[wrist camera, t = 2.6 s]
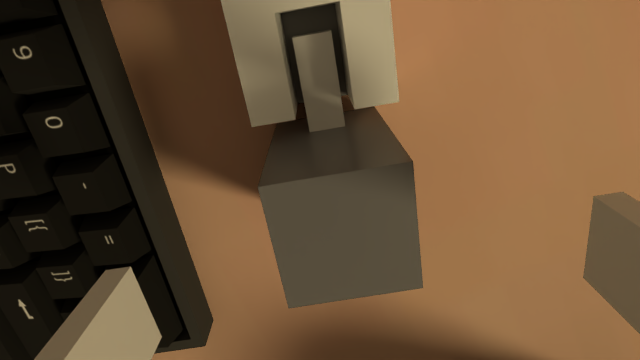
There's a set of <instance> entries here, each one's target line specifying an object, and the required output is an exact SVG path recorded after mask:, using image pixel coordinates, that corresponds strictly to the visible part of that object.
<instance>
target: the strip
mask: <svg viewBox="0 0 640 360" xmlns="http://www.w3.org/2000/svg"><path fill="white" fill-rule="evenodd" d="M221 4H222V8H223V12H224V16H225V20H226V24H227V28H228V33H229V37H230V41H231V45H232V49H233V53H234V57H235V61H236V65H237V69H238V73H239V77H240V81H241V86H242V90H243V94H244V98H245V102H246V106H247V110H248V114H249V118H250V122H251V126H252V127H256V126H262V125H268V124H273V123H279V122H285V121H291V120H296V112H297V105H298V103H304V99H303V93H302V88H301V83H300V77H299V72H298V66H297V61H296V56H295V50H294V45H293V40H292V38H293V36H297V35H303V34H308V33H314V32H319V31H325V30H331V33H332V39H333V46H334V53H335V60H336V66H337V73H338V80H339V87H340V93H341V96H344V95H348V97H349V99H350V101H351V103H352V105H353V107H354V109H360V108H366V107H372V106H378V105H383V104H389V103H395V102H399V93H398V82H397V71H396V60H395V48H394V37H393V26H392V15H391V4H390V0H221Z"/></svg>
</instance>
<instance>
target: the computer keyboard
mask: <svg viewBox="0 0 640 360" xmlns="http://www.w3.org/2000/svg"><path fill="white" fill-rule="evenodd" d="M124 267H131V268H132V271H133V273H134V275H135V277H136V280H137V282H138V284H139V286H140V289H141V291H142V293H143V295H144V298H145V300H146V302H147V305H148V307H149V309H150V311H151V314H152V316H153V318H154V320H155V323H156V325H157V327H158V329H159V332H160V334H161V336H162V338H161V340H160V342H159V344H158V346H157V348H156V350H155V353H161V352H168V351H175V350H182V349H189V348H196V347H203V346H205V345H206V342H207V339H208V336H209V333H210V329H211V326H212V323H213V317H212V314H211V312H210V309H209V306H208V303H207V300H206V297H205V295H204V292H203V289H202V286H201V283H200V280H199V278H198V275H197V272H196V269H195V266H194V264H193V261H192V258H191V255H190V252H189V249H188V247H187V244H186V241H185V238H184V235H183V232H182V230H181V227H180V224H179V221H178V218H177V215H176V213H175V210H174V207H173V204H172V201H171V198H170V196H169V193H168V190H167V187H166V184H165V181H164V179H163V176H162V173H161V170H160V167H159V164H158V162H157V159H156V156H155V153H154V150H153V147H152V145H151V142H150V139H149V136H148V133H147V131H146V128H145V125H144V122H143V119H142V116H141V114H140V111H139V108H138V105H137V102H136V99H135V97H134V94H133V91H132V88H131V85H130V82H129V80H128V77H127V74H126V71H125V68H124V65H123V63H122V60H121V57H120V54H119V51H118V48H117V46H116V43H115V40H114V37H113V34H112V31H111V29H110V26H109V23H108V20H107V17H106V14H105V12H104V9H103V6H102V3H101V0H0V360H34V359H35V358H36V356H37V355H38V354H39V353H40V351H41V350H42V349H43V348H44V346H45V345H46V344H47V343H48V341H49V340H50V339H51V338H52V336H53V335H54V334H55V333H56V331H57V330H58V329H59V328H60V326H61V325H62V324H63V323H64V321H65V320H66V319H67V318H68V316H69V315H70V314H71V313H72V311H73V310H74V309H75V308H76V306H77V305H78V304H79V303H80V302H81V300H82V299H83V298H84V297H85V295H86V294H87V293H88V292H89V290H90V289H91V288H92V287H93V285H94V284H95V283H96V282H97V280H98V279H99V278H100V277H101V275H102V274H103V273H104V272H105V270H111V269H117V268H124ZM155 353H154V354H155Z"/></svg>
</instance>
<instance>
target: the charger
mask: <svg viewBox="0 0 640 360" xmlns="http://www.w3.org/2000/svg"><path fill="white" fill-rule="evenodd" d="M292 40H293V45H294V50H295V56H296V61H297V66H298V72H299V77H300V83H301V88H302V93H303V99H304V104H305V109H306V115H307V118H305V119H299V120H293V121H287V122H282V123H277V125H276V128H275V131H274V135H273V138H272V141H271V144H270V148H269V151H268V154H267V158H266V161H265V164H264V168H263V171H262V174H261V178H260V181H259V184H258V191H259V194H260V198H261V202H262V206H263V210H264V214H265V218H266V222H267V226H268V230H269V234H270V238H271V242H272V245H273V249H274V253H275V257H276V261H277V265H278V269H279V273H280V277H281V281H282V285H283V289H284V292H285V296H286V300H287V304H288V308H294V307H301V306H308V305H314V304H321V303H327V302H334V301H341V300H347V299H354V298H360V297H367V296H373V295H380V294H387V293H393V292H400V291H406V290H413V289H419V288H423V281H422V268H421V256H420V244H419V231H418V219H417V206H416V194H415V182H414V169H413V161H412V159H411V158H410V157H409V155H408V154H407V152H406V151H405V149H404V148H403V147H402V145H401V144H400V142H399V141H398V140H397V138H396V137H395V135H394V134H393V132H392V131H391V130H390V128H389V127H388V125H387V124H386V123H385V121H384V120H383V118H382V117H381V115H380V114H379V113H378V111H377V110H376V108H375V107H368V108H363V109H357V110H351V111H345V112H343V107H342V100H341V93H340V87H339V80H338V73H337V66H336V60H335V53H334V46H333V39H332V33H331V30H325V31H319V32H314V33H308V34H303V35H297V36H293V38H292Z"/></svg>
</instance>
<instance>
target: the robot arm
mask: <svg viewBox="0 0 640 360" xmlns="http://www.w3.org/2000/svg"><path fill="white" fill-rule="evenodd" d="M583 278H584V279H585V280H586V281H587V282H588V283H589V284H590V285H591V286H592V287H593V288H594V289H595V290H596V291H597V292H598V293H599V294H600V295H601V296H602V297H603V298H604V299H605V300H606V301H607V302H608V303H609V304H610V305H611V306H612V307H613V308H614V309H615V310H616V311H617V312H618V313H619V314H620V315H621V316H622V317H623V318H624V319H625V320H626V321H627V322H628V323H629V324H630V325H631V326H632V327H633V328H634V329H635V330H636V331H637V332H638V333H639V334H640V202H639V201H637V200H636V199H634V198H632V197H631V196H629V195H627V194H626V193H624V192H618V193H611V194H605V195H598V196H594V198H593V205H592V213H591V221H590V229H589V237H588V245H587V253H586V261H585V268H584V276H583ZM161 338H162V336H161V334H160V332H159V329H158V327H157V325H156V323H155V320H154V318H153V316H152V314H151V311H150V309H149V307H148V305H147V302H146V300H145V298H144V295H143V293H142V291H141V289H140V286H139V284H138V282H137V280H136V277H135V275H134V273H133V271H132V268H131V267H124V268H117V269H111V270H105V272H104V273H103V274H102V275H101V277H100V278H99V279H98V280H97V282H96V283H95V284H94V285H93V287H92V288H91V289H90V290H89V292H88V293H87V294H86V295H85V297H84V298H83V299H82V300H81V302H80V303H79V304H78V305H77V306H76V308H75V309H74V310H73V311H72V313H71V314H70V315H69V316H68V318H67V319H66V320H65V321H64V323H63V324H62V325H61V326H60V328H59V329H58V330H57V331H56V333H55V334H54V335H53V336H52V338H51V339H50V340H49V341H48V343H47V344H46V345H45V346H44V348H43V349H42V350H41V351H40V353H39V354H38V355H37V356H36V358H35V359H34V360H151V359H152V357H153V355H154V353H155V350H156V348H157V346H158V344H159V342H160V340H161Z"/></svg>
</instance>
